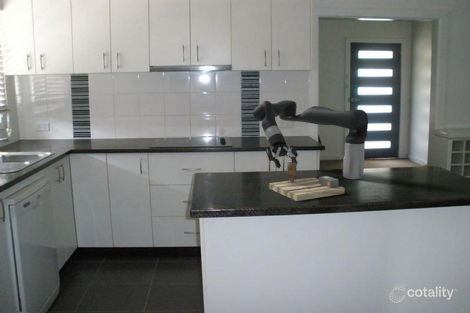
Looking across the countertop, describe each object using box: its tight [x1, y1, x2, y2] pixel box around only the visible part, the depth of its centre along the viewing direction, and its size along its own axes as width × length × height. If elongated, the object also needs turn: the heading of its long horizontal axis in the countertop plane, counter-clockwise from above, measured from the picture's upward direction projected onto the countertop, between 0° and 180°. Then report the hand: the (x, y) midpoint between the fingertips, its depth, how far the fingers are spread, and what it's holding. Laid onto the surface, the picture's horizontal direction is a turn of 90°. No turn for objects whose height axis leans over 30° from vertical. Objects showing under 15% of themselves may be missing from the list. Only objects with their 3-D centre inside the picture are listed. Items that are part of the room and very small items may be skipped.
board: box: [268, 176, 345, 202], centre depth 184 cm, size 22×24×3 cm
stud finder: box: [318, 175, 340, 188], centre depth 184 cm, size 8×4×3 cm, turn 26°
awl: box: [286, 161, 298, 183], centre depth 190 cm, size 4×4×11 cm
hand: (287, 166), depth 191 cm, fingers open, 8 cm apart
